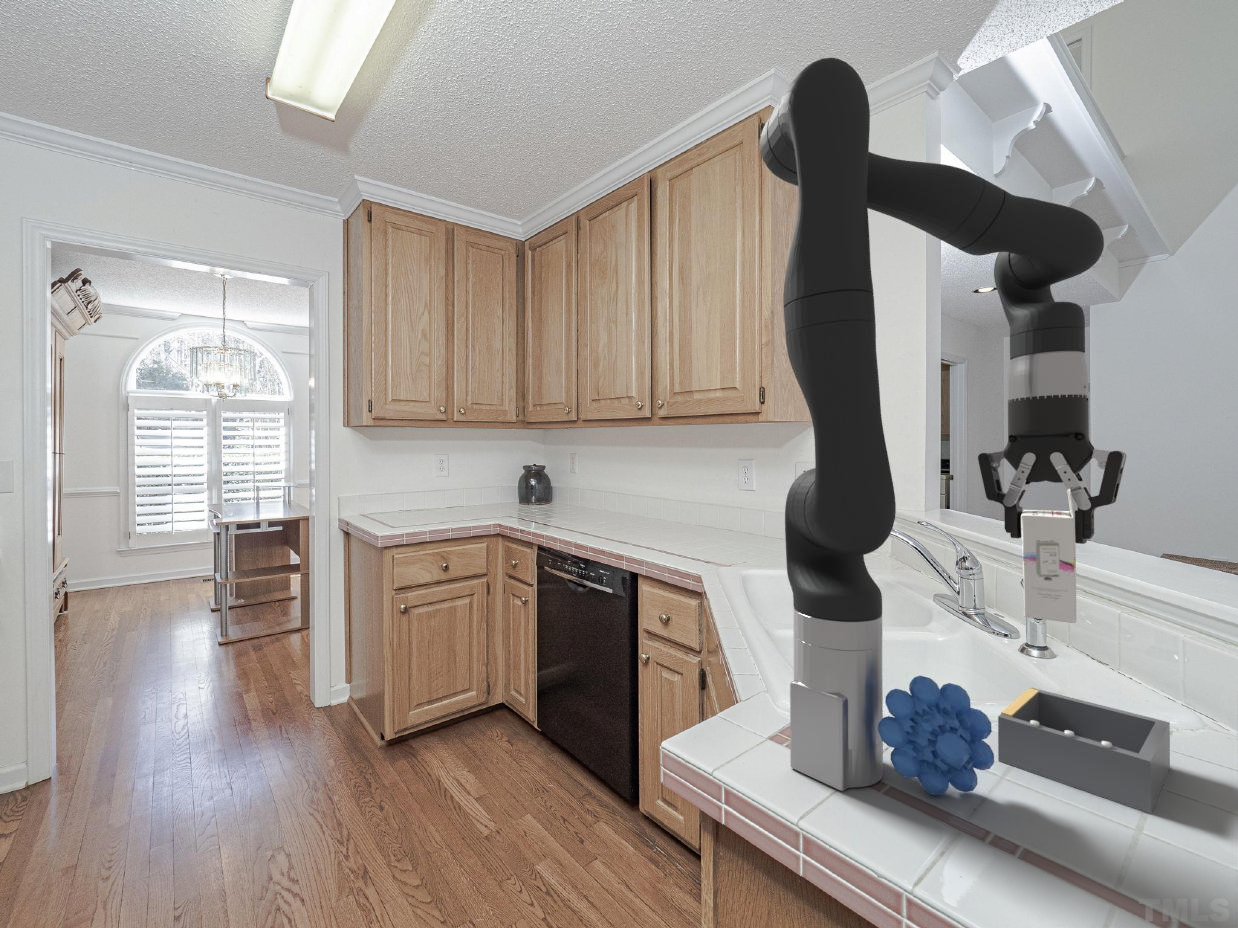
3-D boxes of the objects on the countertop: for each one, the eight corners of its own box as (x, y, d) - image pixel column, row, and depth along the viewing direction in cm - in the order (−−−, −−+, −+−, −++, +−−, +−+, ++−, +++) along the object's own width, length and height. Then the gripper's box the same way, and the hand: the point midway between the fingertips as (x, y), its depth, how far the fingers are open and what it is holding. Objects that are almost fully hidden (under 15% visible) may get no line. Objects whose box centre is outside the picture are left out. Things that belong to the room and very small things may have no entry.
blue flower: (900, 821, 53) (900, 693, 53) (868, 780, 60) (867, 667, 60) (1023, 819, 53) (1023, 692, 53) (977, 779, 60) (976, 666, 60)
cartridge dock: (1150, 813, 54) (1150, 757, 54) (998, 760, 64) (998, 712, 64) (1169, 767, 62) (1169, 718, 62) (1032, 726, 72) (1031, 684, 72)
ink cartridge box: (1022, 602, 71) (1021, 485, 71) (1073, 607, 68) (1071, 485, 68) (1021, 617, 64) (1020, 488, 64) (1077, 624, 61) (1076, 488, 61)
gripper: (966, 399, 69) (967, 537, 69) (1122, 386, 58) (1124, 550, 58) (986, 403, 74) (987, 532, 74) (1134, 391, 63) (1135, 543, 63)
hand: (1047, 539), depth 66 cm, fingers closed on ink cartridge box, 5 cm apart
